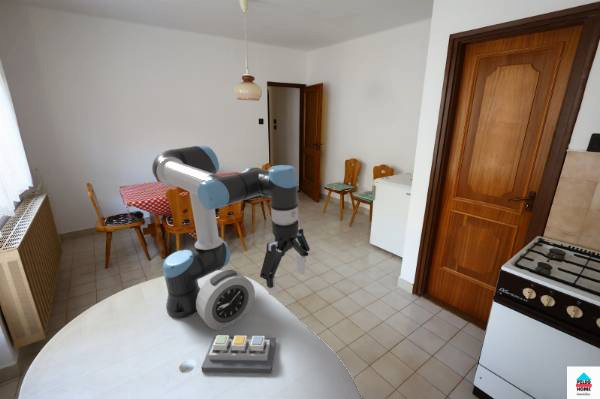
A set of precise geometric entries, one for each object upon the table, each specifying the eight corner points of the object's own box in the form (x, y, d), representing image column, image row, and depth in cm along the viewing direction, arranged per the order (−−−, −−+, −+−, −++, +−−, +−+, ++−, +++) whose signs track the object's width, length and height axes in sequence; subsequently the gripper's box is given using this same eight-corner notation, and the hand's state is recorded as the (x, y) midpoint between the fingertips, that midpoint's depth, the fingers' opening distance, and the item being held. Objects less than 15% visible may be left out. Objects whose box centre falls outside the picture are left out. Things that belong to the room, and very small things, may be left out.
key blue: (250, 350, 90) (250, 344, 89) (253, 340, 94) (252, 335, 93) (262, 350, 90) (262, 345, 89) (264, 340, 93) (264, 335, 93)
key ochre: (232, 350, 90) (231, 344, 89) (235, 340, 94) (234, 334, 93) (244, 350, 90) (243, 344, 89) (247, 340, 94) (246, 335, 93)
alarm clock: (207, 336, 102) (200, 290, 95) (198, 325, 107) (191, 281, 101) (256, 308, 115) (252, 266, 109) (246, 299, 121) (242, 259, 114)
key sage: (213, 349, 90) (212, 344, 90) (217, 339, 94) (216, 334, 93) (226, 350, 90) (225, 344, 89) (229, 340, 94) (228, 334, 93)
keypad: (202, 371, 88) (200, 362, 87) (214, 341, 100) (213, 332, 98) (271, 373, 87) (270, 363, 86) (276, 342, 99) (275, 333, 97)
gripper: (263, 240, 68) (268, 311, 75) (320, 209, 87) (320, 268, 94) (242, 232, 72) (249, 300, 79) (301, 205, 91) (302, 261, 98)
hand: (287, 283), depth 87 cm, fingers open, 13 cm apart
